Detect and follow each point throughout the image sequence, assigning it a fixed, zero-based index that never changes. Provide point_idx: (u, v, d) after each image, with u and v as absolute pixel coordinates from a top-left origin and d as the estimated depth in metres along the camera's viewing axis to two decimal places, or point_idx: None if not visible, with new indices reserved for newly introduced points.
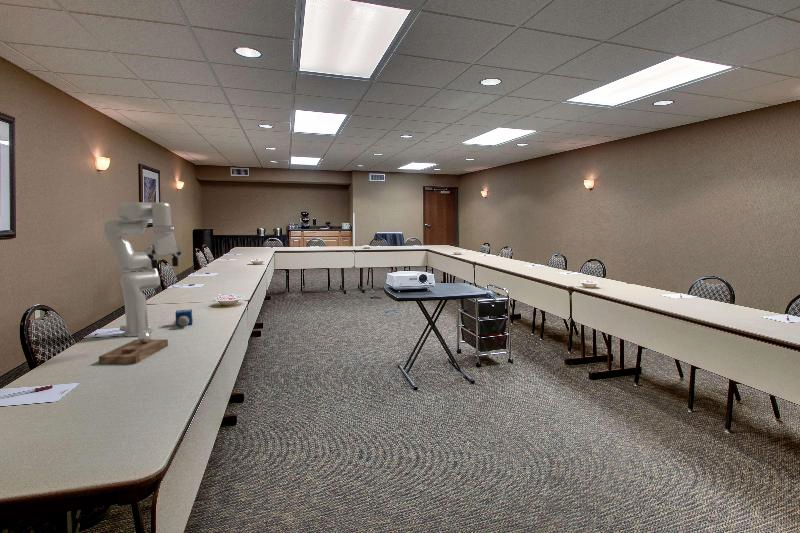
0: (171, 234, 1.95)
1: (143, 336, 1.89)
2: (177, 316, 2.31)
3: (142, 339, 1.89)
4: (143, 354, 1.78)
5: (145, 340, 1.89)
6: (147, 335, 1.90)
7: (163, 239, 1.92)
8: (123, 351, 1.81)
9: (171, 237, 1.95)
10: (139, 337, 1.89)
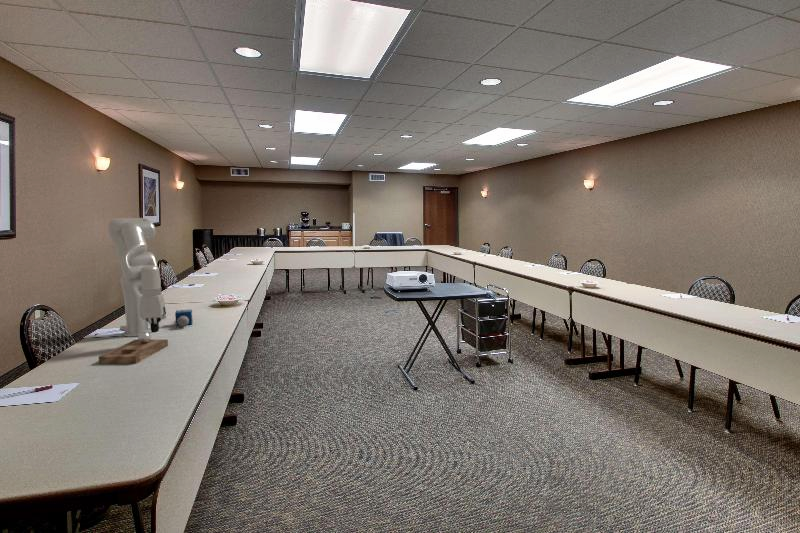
0: None
1: (143, 336, 1.89)
2: (177, 316, 2.31)
3: (142, 339, 1.89)
4: (143, 354, 1.78)
5: (145, 340, 1.89)
6: (147, 335, 1.90)
7: None
8: (123, 351, 1.81)
9: None
10: (139, 337, 1.89)
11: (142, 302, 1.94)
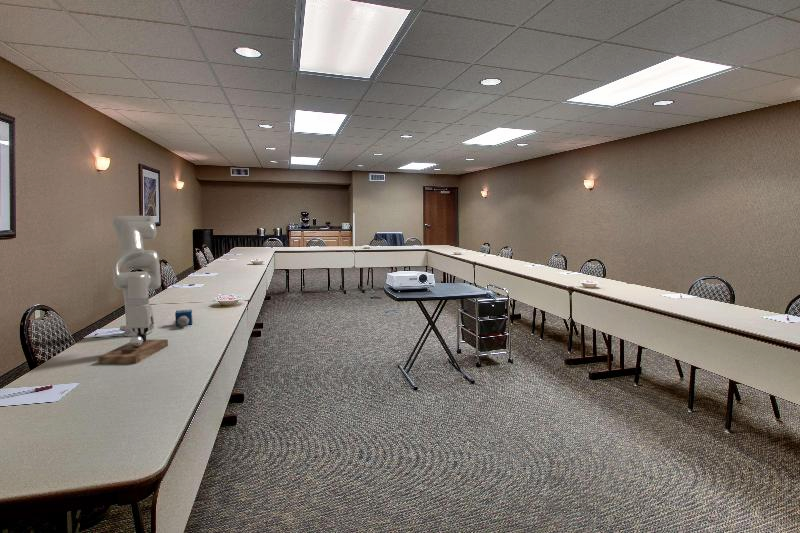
0: None
1: None
2: (177, 316, 2.30)
3: None
4: (143, 354, 1.78)
5: None
6: (141, 344, 1.85)
7: None
8: (123, 351, 1.81)
9: None
10: None
11: (128, 311, 1.85)
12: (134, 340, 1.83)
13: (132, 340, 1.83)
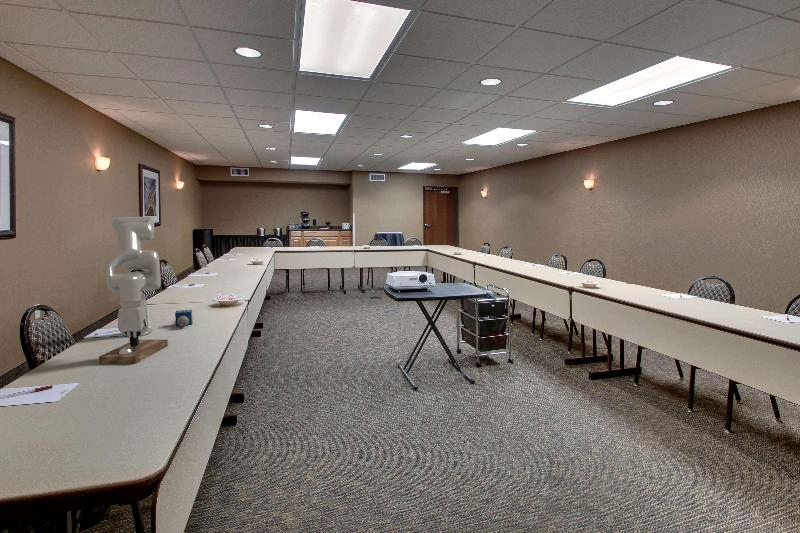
0: None
1: (124, 353, 1.75)
2: (177, 316, 2.30)
3: None
4: (143, 354, 1.78)
5: None
6: (128, 352, 1.77)
7: None
8: None
9: None
10: (120, 353, 1.76)
11: (120, 314, 1.80)
12: None
13: None
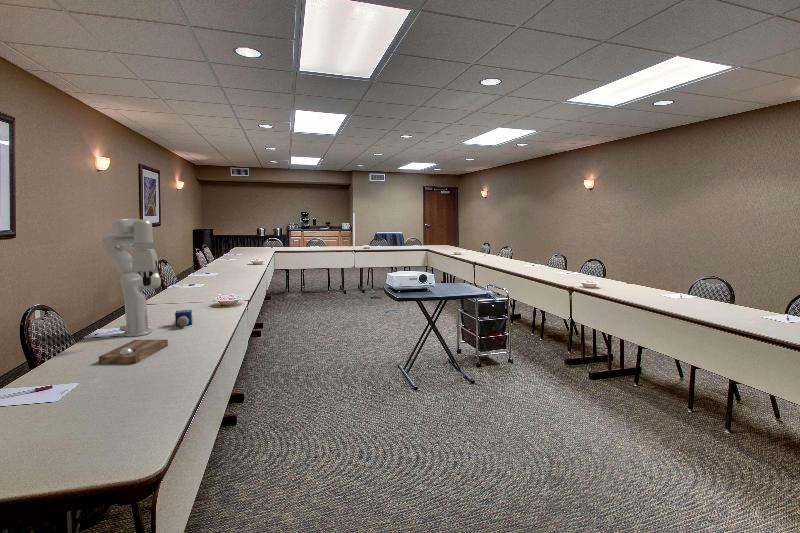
0: None
1: (124, 352, 1.76)
2: (177, 316, 2.30)
3: None
4: (143, 354, 1.78)
5: None
6: (129, 351, 1.77)
7: None
8: None
9: None
10: (120, 352, 1.76)
11: (134, 255, 1.97)
12: None
13: None
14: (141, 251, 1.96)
